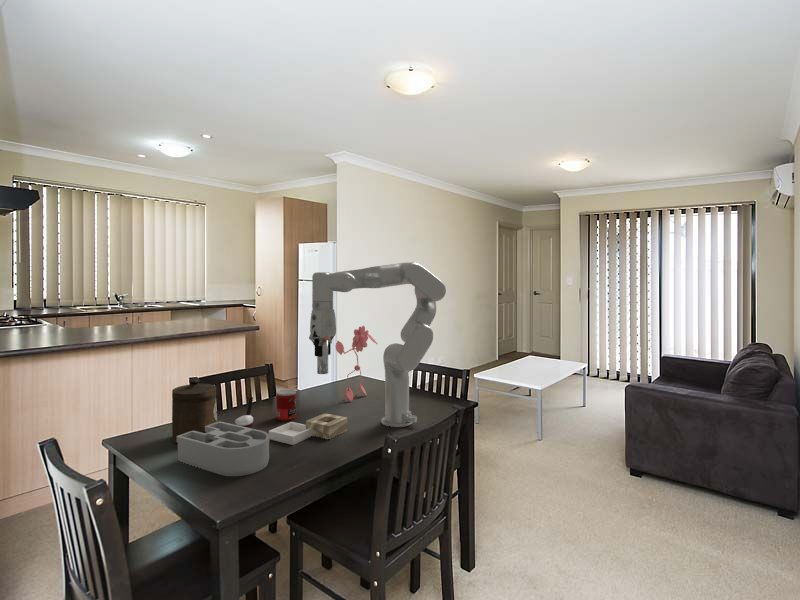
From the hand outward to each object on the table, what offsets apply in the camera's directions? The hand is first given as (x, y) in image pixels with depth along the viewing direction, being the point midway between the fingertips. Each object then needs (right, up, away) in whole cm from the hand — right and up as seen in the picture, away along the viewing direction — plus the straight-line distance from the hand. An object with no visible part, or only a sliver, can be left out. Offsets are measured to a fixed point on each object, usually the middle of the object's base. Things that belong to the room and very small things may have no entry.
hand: (322, 354), depth 169 cm
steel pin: (0, -7, 0) cm, 7 cm away
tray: (-11, -30, -2) cm, 32 cm away
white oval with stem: (-30, -29, +3) cm, 42 cm away
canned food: (-18, -28, +19) cm, 39 cm away
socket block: (+1, -29, +2) cm, 29 cm away
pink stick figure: (+10, -27, +47) cm, 55 cm away
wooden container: (-46, -30, -3) cm, 55 cm away
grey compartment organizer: (-26, -31, -24) cm, 47 cm away
